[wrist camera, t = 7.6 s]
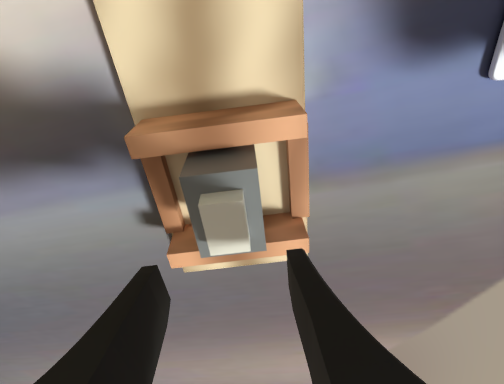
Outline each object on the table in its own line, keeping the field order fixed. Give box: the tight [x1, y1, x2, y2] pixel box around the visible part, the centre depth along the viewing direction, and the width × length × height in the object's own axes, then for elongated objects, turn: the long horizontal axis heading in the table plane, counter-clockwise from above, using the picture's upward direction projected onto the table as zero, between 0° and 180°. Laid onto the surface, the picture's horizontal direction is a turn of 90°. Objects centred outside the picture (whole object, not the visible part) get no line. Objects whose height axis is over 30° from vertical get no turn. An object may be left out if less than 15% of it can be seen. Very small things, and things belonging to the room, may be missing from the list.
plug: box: [179, 144, 267, 258], centre depth 16 cm, size 4×5×6 cm
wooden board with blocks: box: [93, 0, 309, 272], centre depth 14 cm, size 10×32×4 cm, turn 7°
